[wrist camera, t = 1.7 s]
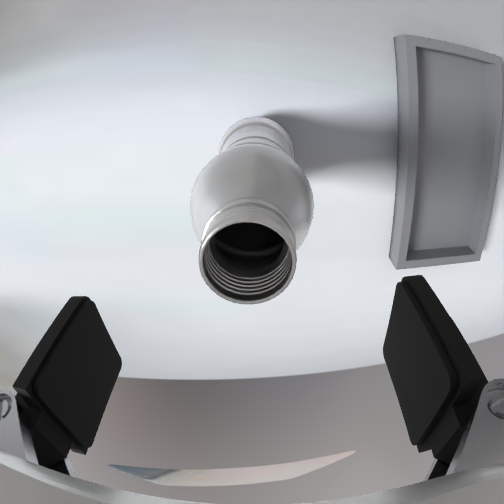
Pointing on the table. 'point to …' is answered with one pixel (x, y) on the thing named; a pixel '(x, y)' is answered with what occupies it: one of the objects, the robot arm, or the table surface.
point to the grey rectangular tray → (444, 151)
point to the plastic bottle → (251, 212)
